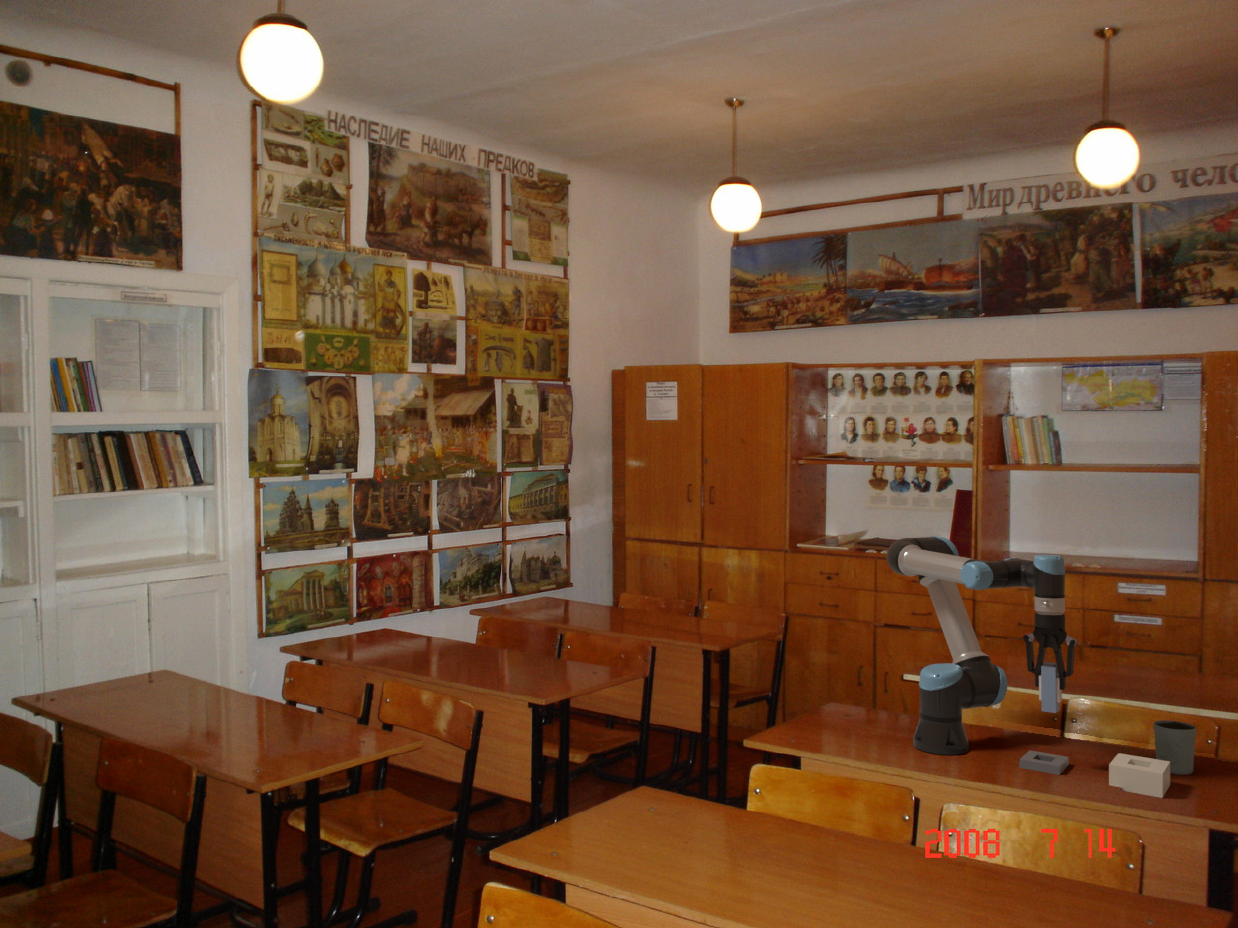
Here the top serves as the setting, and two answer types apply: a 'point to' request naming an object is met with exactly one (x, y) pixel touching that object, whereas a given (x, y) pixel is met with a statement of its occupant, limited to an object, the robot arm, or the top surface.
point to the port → (1140, 775)
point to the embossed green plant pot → (1175, 745)
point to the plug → (1049, 687)
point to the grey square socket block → (1044, 762)
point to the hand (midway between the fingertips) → (1050, 700)
